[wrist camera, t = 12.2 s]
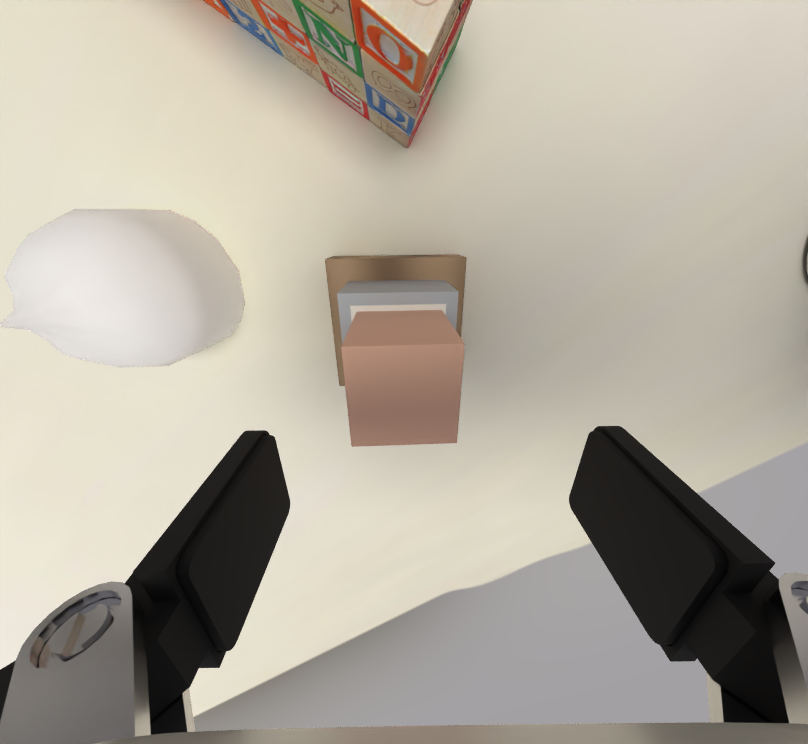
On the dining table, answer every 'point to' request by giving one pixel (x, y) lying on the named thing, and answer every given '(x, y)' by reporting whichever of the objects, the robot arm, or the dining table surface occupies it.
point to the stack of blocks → (362, 49)
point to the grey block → (396, 298)
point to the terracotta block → (402, 378)
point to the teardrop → (124, 287)
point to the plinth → (390, 269)
